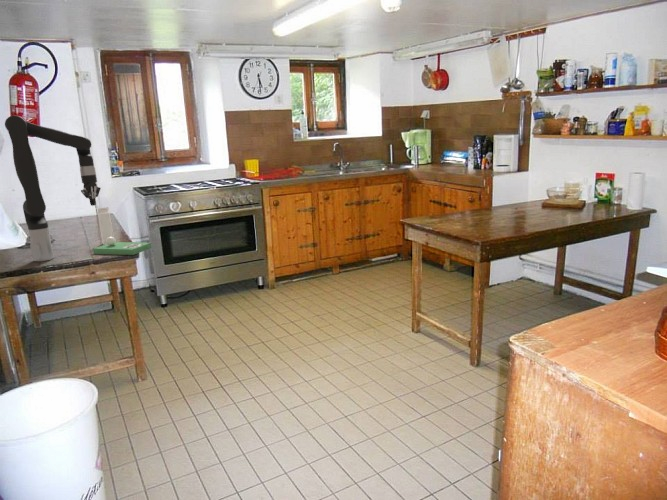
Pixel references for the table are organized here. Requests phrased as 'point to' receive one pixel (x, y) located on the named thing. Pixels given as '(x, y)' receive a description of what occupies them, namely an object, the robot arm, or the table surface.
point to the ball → (111, 241)
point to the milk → (105, 224)
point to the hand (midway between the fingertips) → (93, 205)
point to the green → (122, 248)
